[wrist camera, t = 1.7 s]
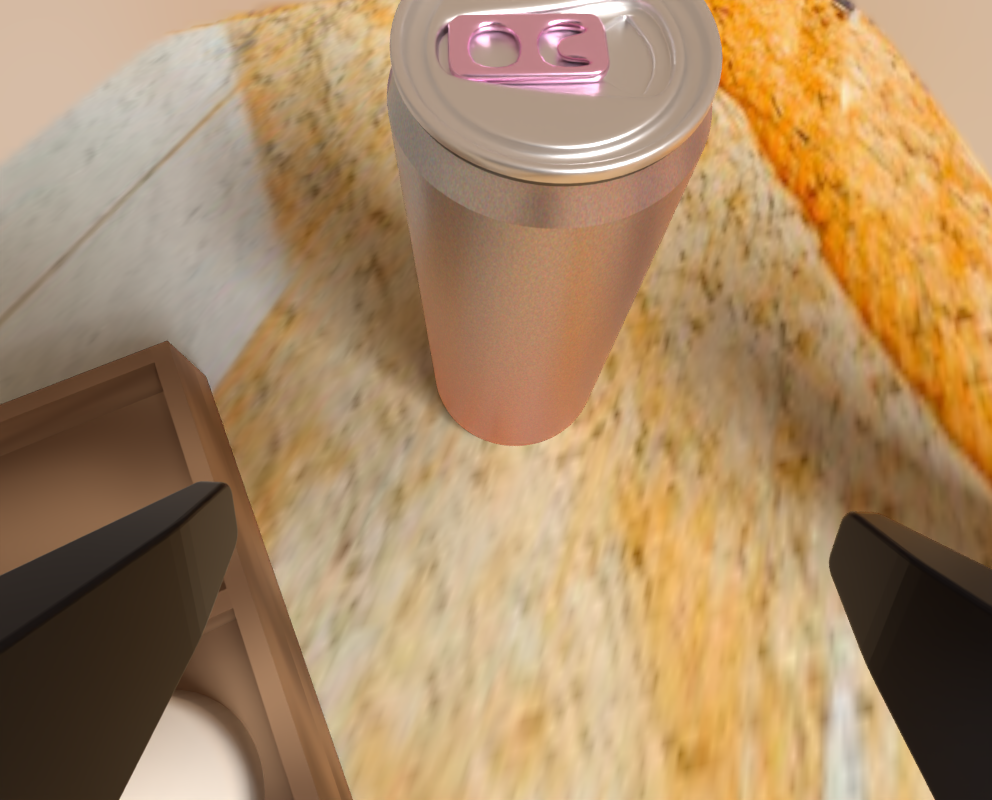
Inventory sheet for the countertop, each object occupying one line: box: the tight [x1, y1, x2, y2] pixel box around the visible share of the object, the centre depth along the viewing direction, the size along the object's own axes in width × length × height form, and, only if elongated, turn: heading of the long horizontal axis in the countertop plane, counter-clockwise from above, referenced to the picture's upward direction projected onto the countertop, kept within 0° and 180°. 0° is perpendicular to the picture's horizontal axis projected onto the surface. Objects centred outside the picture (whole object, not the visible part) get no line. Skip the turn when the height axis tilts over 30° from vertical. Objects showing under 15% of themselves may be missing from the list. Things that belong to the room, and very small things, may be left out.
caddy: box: [0, 341, 353, 800], centre depth 19 cm, size 18×10×3 cm, turn 25°
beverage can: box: [387, 0, 722, 446], centre depth 18 cm, size 6×6×15 cm
